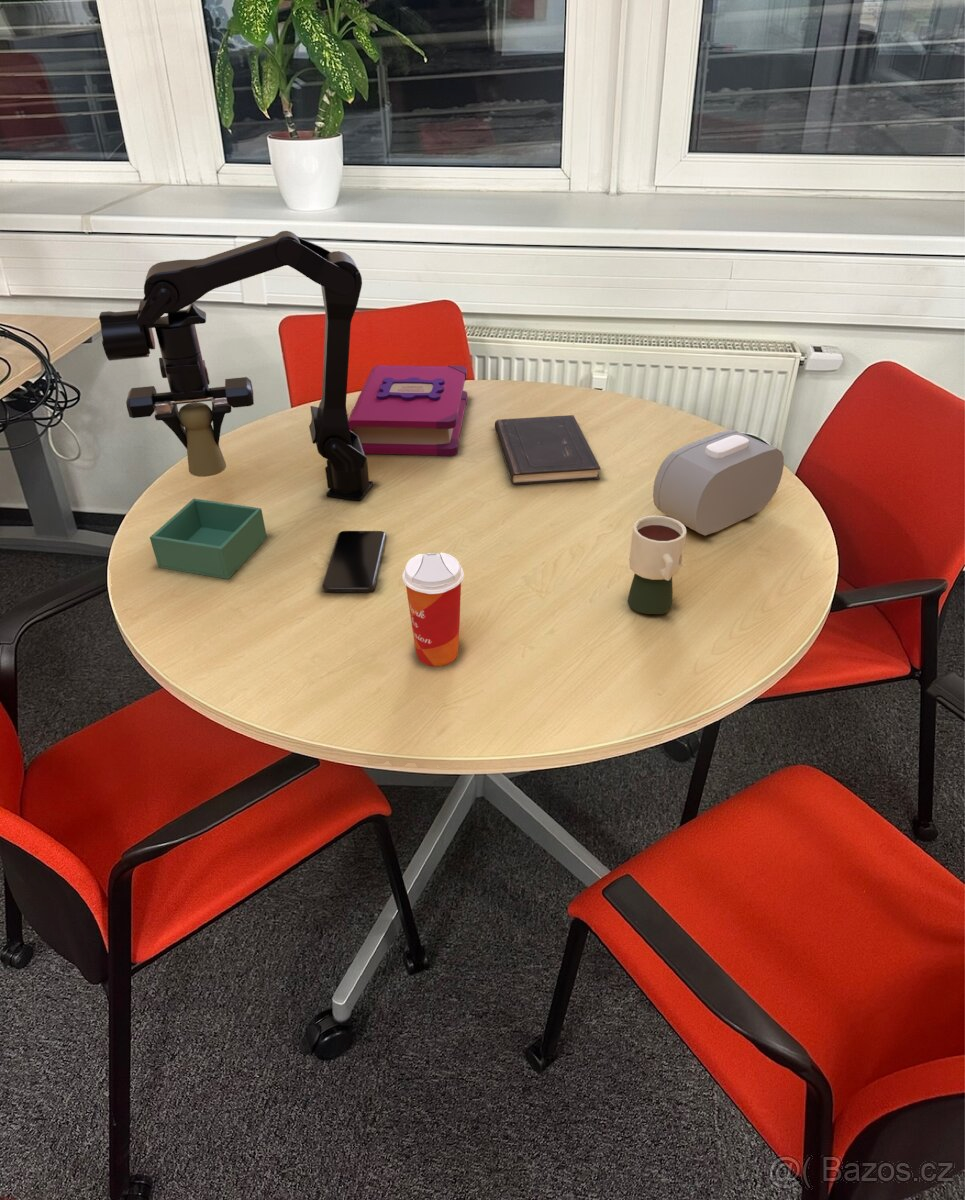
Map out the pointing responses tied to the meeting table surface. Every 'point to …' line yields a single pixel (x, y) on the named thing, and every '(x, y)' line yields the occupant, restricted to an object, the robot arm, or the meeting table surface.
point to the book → (411, 410)
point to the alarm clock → (717, 481)
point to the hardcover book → (546, 450)
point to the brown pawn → (201, 440)
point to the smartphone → (355, 561)
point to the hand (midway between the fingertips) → (202, 446)
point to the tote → (209, 538)
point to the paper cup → (434, 606)
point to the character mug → (655, 562)
